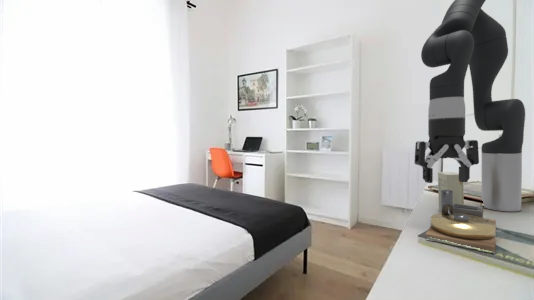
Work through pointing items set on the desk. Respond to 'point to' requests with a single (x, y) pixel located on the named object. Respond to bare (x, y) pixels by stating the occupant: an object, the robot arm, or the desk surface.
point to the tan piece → (478, 243)
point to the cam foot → (460, 221)
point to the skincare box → (450, 187)
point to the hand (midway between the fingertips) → (445, 182)
